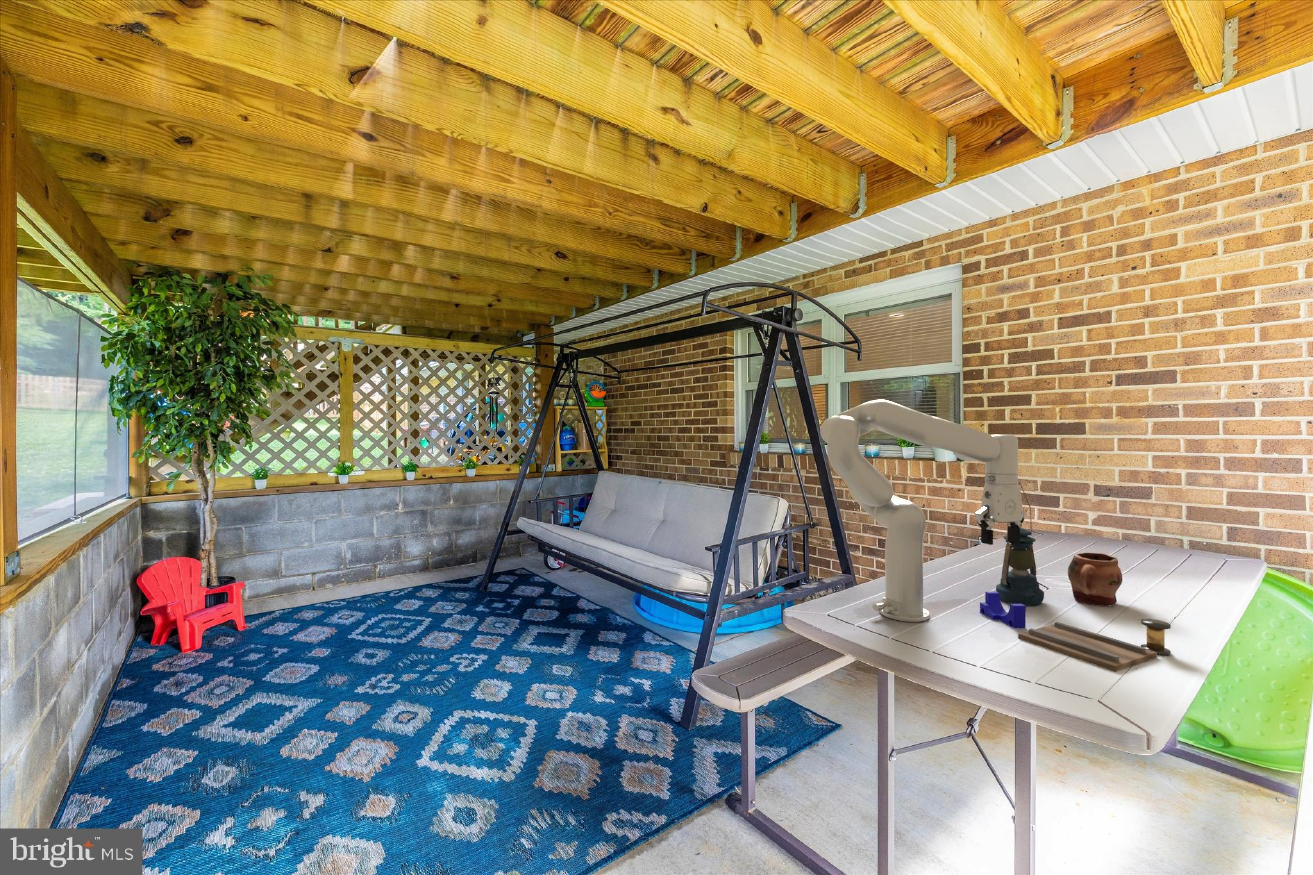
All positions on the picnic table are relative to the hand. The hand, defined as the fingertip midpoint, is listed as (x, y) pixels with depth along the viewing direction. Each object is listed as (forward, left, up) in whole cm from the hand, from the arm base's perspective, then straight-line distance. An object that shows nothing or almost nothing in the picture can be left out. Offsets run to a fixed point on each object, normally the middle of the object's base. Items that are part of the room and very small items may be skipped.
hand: (1000, 542), depth 147 cm
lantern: (+17, +6, -20) cm, 27 cm away
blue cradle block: (-3, -3, -20) cm, 21 cm away
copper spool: (+8, -30, -20) cm, 37 cm away
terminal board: (-4, -22, -20) cm, 30 cm away
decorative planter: (+33, -5, -20) cm, 39 cm away
